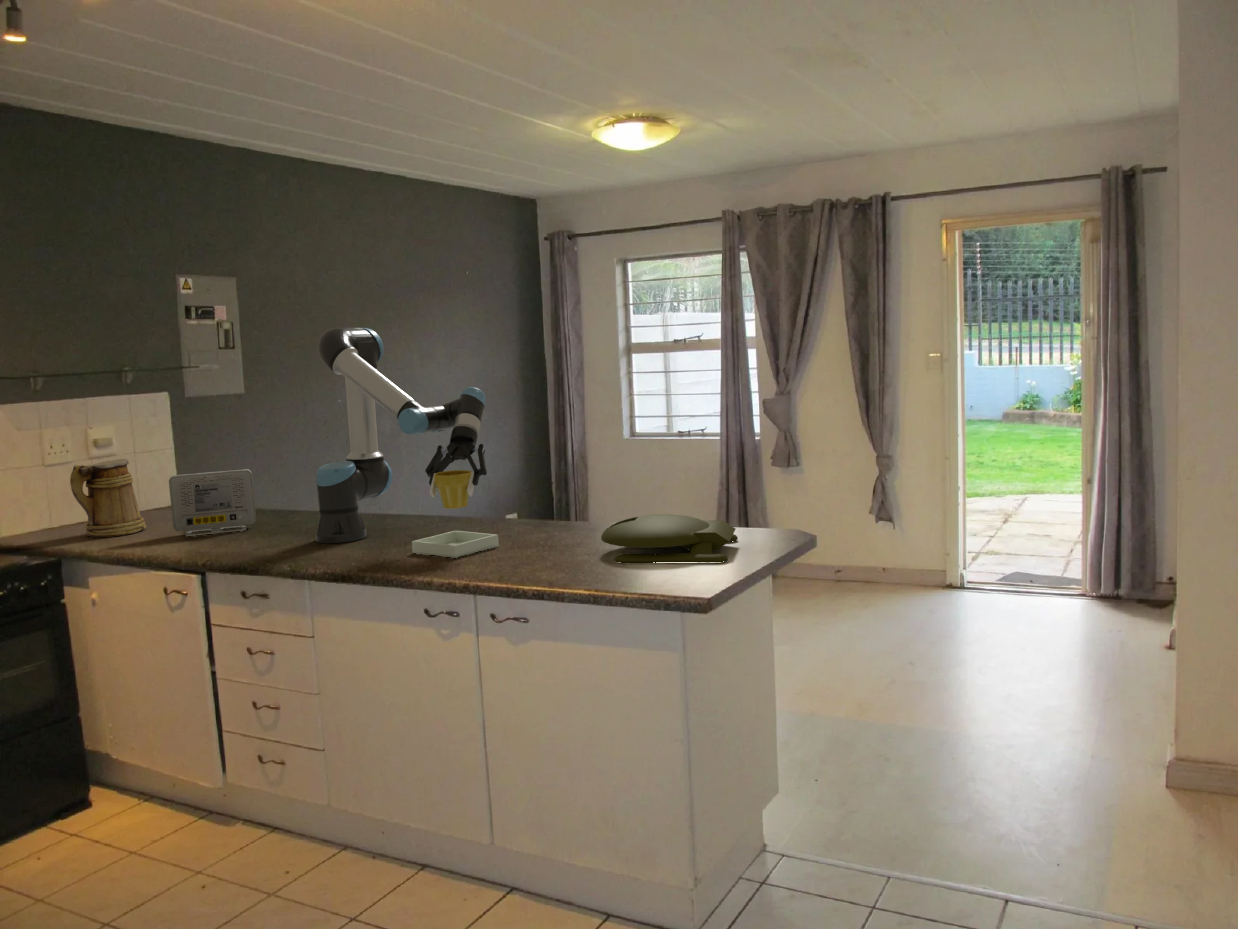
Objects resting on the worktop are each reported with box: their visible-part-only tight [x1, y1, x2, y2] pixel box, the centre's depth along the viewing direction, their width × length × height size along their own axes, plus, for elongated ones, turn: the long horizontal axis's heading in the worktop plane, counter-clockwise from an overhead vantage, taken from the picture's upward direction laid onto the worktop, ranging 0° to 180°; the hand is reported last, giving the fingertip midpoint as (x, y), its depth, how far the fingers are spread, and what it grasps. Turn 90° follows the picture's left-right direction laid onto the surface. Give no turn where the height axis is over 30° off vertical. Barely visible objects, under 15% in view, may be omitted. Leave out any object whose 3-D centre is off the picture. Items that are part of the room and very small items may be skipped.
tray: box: [411, 530, 500, 559], centre depth 279 cm, size 17×17×4 cm
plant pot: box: [434, 469, 472, 510], centre depth 279 cm, size 10×10×10 cm
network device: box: [168, 468, 257, 537], centre depth 330 cm, size 26×9×20 cm, turn 111°
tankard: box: [69, 458, 147, 538], centre depth 336 cm, size 18×24×25 cm
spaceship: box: [600, 513, 739, 563], centre depth 263 cm, size 35×31×10 cm
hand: (450, 494), depth 276 cm, fingers closed on plant pot, 10 cm apart
